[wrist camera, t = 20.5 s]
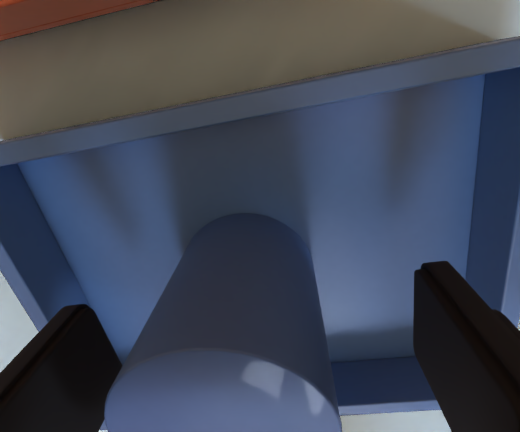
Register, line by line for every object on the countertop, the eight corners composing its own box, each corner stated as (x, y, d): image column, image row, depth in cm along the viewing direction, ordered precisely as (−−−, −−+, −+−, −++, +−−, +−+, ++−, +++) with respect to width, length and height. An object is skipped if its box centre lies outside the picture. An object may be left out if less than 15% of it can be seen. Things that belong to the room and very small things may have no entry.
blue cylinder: (205, 328, 13) (152, 504, 8) (166, 225, 11) (59, 365, 6) (322, 313, 13) (353, 495, 7) (302, 201, 11) (324, 333, 5)
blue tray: (126, 379, 16) (100, 430, 13) (2, 140, 11) (-72, 157, 9) (465, 351, 14) (503, 406, 11) (499, 39, 9) (577, 26, 6)
